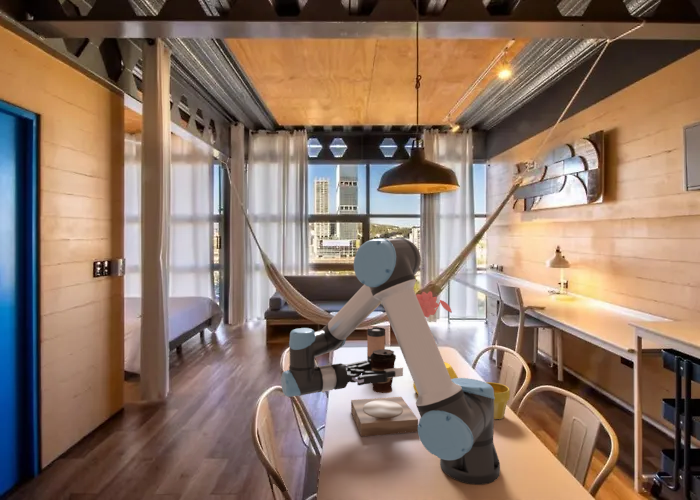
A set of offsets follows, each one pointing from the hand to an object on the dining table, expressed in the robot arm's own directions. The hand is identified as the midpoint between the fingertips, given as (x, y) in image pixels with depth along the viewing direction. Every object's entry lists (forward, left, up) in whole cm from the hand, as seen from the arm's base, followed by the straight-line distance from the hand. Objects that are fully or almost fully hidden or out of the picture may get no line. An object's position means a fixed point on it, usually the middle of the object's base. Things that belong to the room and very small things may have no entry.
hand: (395, 367), depth 137 cm
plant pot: (-3, -33, -17) cm, 38 cm away
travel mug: (+43, -3, -17) cm, 46 cm away
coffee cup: (-1, +5, -7) cm, 9 cm away
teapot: (+17, -21, -17) cm, 32 cm away
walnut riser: (-1, +5, -17) cm, 18 cm away
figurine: (+50, -28, -17) cm, 60 cm away
